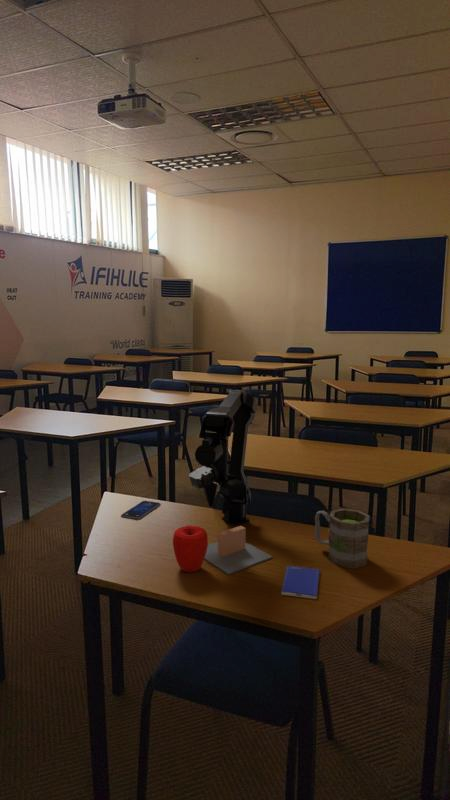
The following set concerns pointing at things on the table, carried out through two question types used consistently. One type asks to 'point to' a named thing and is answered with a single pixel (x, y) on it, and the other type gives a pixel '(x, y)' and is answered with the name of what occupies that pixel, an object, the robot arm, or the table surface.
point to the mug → (345, 537)
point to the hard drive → (301, 582)
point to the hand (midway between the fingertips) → (217, 510)
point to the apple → (190, 547)
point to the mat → (235, 558)
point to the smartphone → (140, 510)
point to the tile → (231, 540)
